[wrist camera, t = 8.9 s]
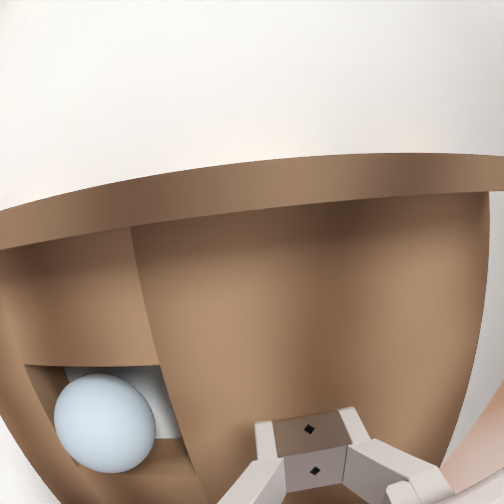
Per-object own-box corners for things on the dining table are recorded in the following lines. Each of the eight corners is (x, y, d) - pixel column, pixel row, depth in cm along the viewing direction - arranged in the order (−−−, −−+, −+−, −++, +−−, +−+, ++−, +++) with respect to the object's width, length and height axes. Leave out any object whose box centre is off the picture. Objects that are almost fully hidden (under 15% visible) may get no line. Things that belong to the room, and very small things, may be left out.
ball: (124, 346, 12) (155, 392, 9) (147, 419, 13) (183, 472, 10) (37, 369, 10) (39, 426, 7) (71, 442, 11) (89, 503, 7)
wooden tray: (447, 160, 10) (516, 157, 7) (415, 457, 14) (442, 502, 10) (-26, 225, 10) (-87, 240, 6) (82, 488, 13) (64, 532, 9)
